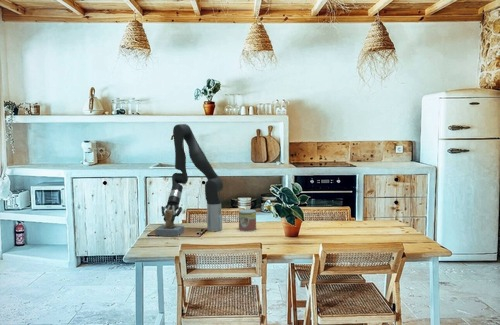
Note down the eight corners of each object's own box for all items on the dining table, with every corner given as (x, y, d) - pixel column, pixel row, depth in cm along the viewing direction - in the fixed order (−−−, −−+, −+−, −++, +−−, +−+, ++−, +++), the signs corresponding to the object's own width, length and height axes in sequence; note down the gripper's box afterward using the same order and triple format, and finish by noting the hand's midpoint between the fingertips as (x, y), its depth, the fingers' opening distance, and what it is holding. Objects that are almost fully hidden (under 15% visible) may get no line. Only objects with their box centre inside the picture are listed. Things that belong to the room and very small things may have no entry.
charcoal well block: (183, 231, 281) (183, 225, 281) (177, 236, 269) (177, 230, 269) (162, 231, 284) (162, 225, 283) (155, 235, 272) (155, 229, 271)
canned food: (236, 230, 284) (235, 212, 283) (242, 226, 294) (242, 208, 293) (252, 231, 280) (252, 213, 279) (258, 228, 290) (258, 209, 289)
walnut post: (173, 227, 278) (173, 209, 277) (171, 228, 274) (171, 211, 273) (167, 226, 279) (167, 209, 278) (165, 228, 275) (165, 210, 274)
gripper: (162, 194, 283) (155, 217, 272) (183, 195, 281) (178, 218, 270) (165, 201, 289) (159, 224, 278) (186, 202, 287) (181, 224, 276)
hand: (168, 221), depth 274 cm, fingers closed on walnut post, 4 cm apart
